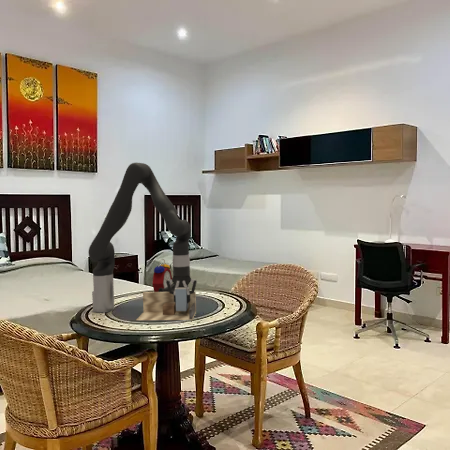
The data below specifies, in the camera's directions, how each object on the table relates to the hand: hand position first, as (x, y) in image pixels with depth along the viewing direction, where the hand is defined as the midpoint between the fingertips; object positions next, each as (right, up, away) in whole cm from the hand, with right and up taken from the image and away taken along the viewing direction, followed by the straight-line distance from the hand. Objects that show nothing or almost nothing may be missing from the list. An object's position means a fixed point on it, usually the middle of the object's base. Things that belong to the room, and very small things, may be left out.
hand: (182, 302), depth 198 cm
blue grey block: (0, -3, 0) cm, 3 cm away
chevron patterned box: (-7, -6, -2) cm, 9 cm away
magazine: (-8, -5, +26) cm, 28 cm away
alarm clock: (-17, -4, +50) cm, 52 cm away
